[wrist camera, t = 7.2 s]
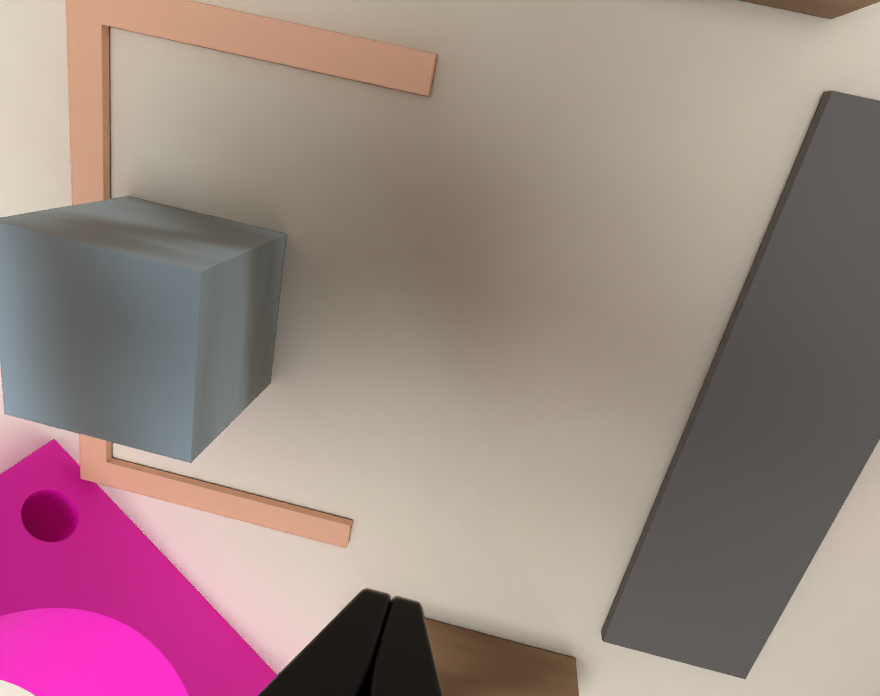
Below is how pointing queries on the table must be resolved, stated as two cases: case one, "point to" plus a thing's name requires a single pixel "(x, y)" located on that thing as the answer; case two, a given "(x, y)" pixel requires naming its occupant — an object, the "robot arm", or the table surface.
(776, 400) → the grey flat board
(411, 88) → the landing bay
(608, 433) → the table surface
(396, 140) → the table surface
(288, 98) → the table surface
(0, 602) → the toy block
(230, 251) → the cube
